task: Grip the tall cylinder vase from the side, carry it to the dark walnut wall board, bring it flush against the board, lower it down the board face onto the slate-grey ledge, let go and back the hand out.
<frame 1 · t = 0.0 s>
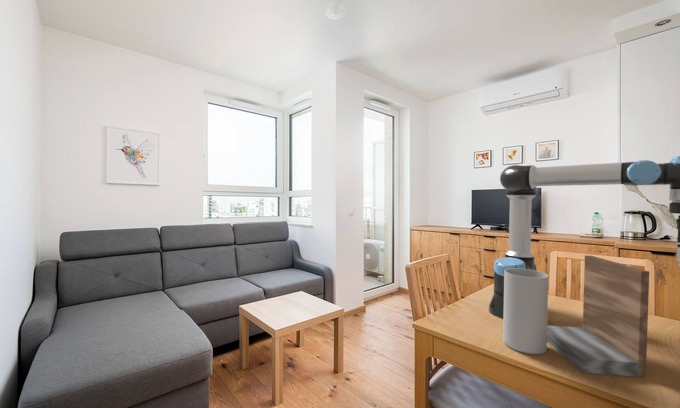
cylinder vase: (523, 346, 98), on the table
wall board: (582, 353, 93), on the table
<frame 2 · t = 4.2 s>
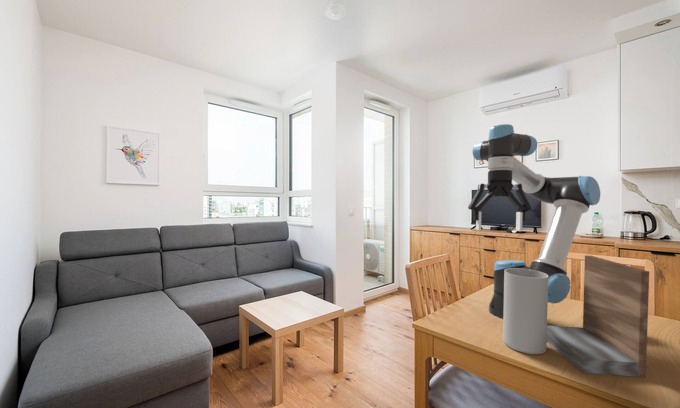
hand: (498, 230, 102), 39 cm above the table, tool pointing down, fingers open, 13 cm apart
nothing on the table moved.
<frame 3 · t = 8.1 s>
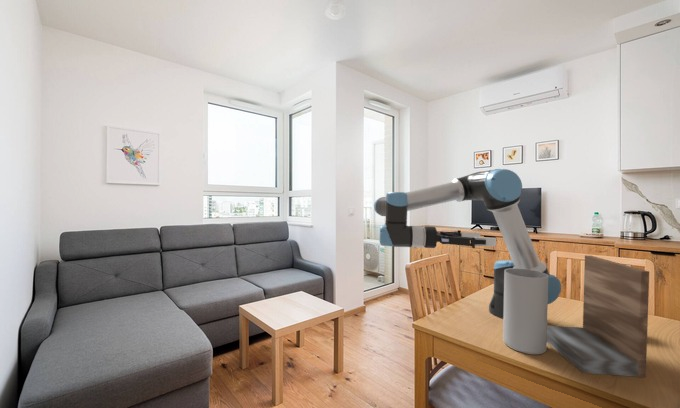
hand: (487, 239, 99), 36 cm above the table, tool horizontal, fingers open, 13 cm apart
nothing on the table moved.
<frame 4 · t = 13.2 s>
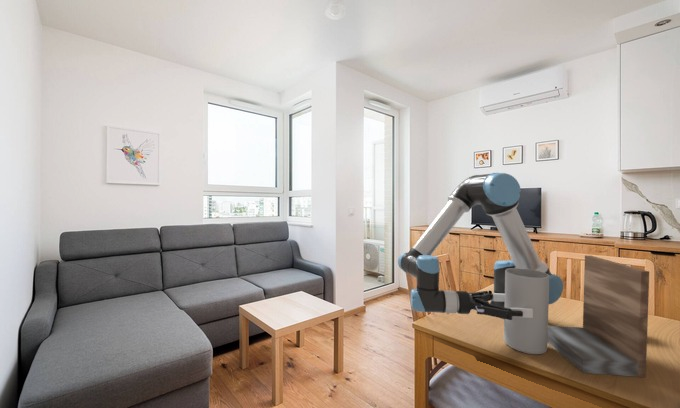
hand: (521, 305, 98), 14 cm above the table, tool horizontal, fingers open, 13 cm apart
cylinder vase: (524, 346, 98), on the table, touching gripper
everything else where it was.
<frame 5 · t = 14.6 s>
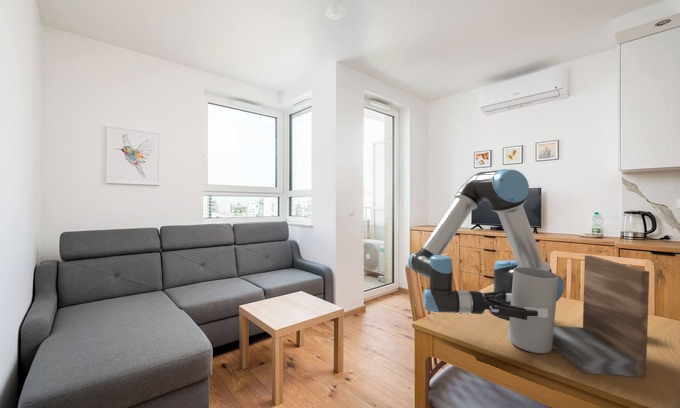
hand: (535, 305, 98), 14 cm above the table, tool horizontal, fingers closed on cylinder vase, 12 cm apart
cylinder vase: (529, 344, 99), on the table, touching gripper
everything else where it was.
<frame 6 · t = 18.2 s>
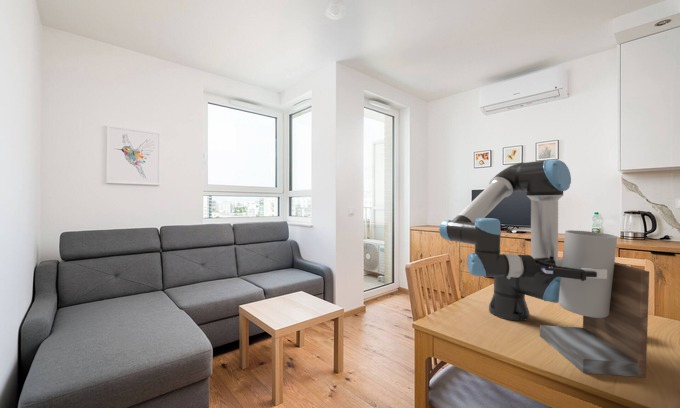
hand: (590, 268, 92), 28 cm above the table, tool horizontal, fingers closed on cylinder vase, 12 cm apart
cylinder vase: (582, 310, 93), point 14 cm above the table, touching gripper
everything else where it was.
when the fingers open (19 cm above the table, at t = 21.7 s): cylinder vase drops 1 cm, resting on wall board.
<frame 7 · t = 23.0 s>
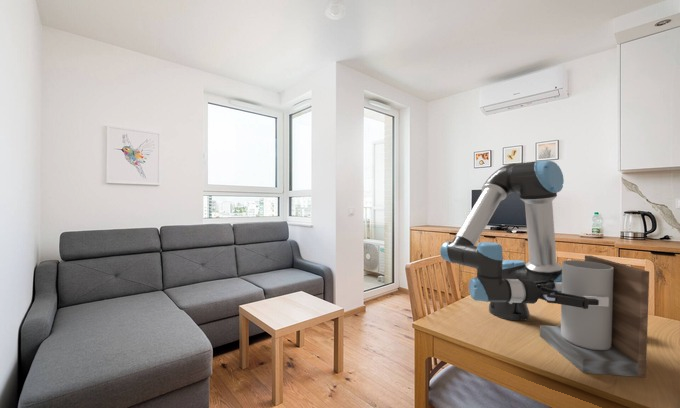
hand: (590, 293, 93), 20 cm above the table, tool horizontal, fingers open, 13 cm apart
cylinder vase: (584, 341, 93), point 4 cm above the table, touching gripper, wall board
everything else where it was.
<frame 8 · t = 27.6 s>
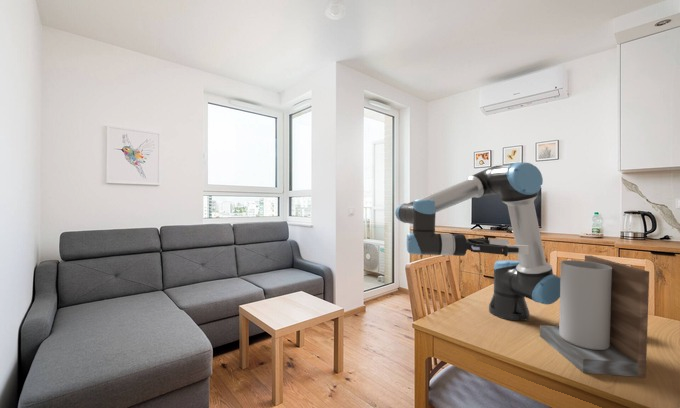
hand: (517, 246, 98), 34 cm above the table, tool horizontal, fingers open, 13 cm apart
cylinder vase: (583, 341, 94), point 4 cm above the table, touching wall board
everything else where it was.
at the end: cylinder vase 0.4 cm from the target spot, point 3.8 cm above the table; cylinder vase tilted 0°; the gripper is holding nothing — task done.
